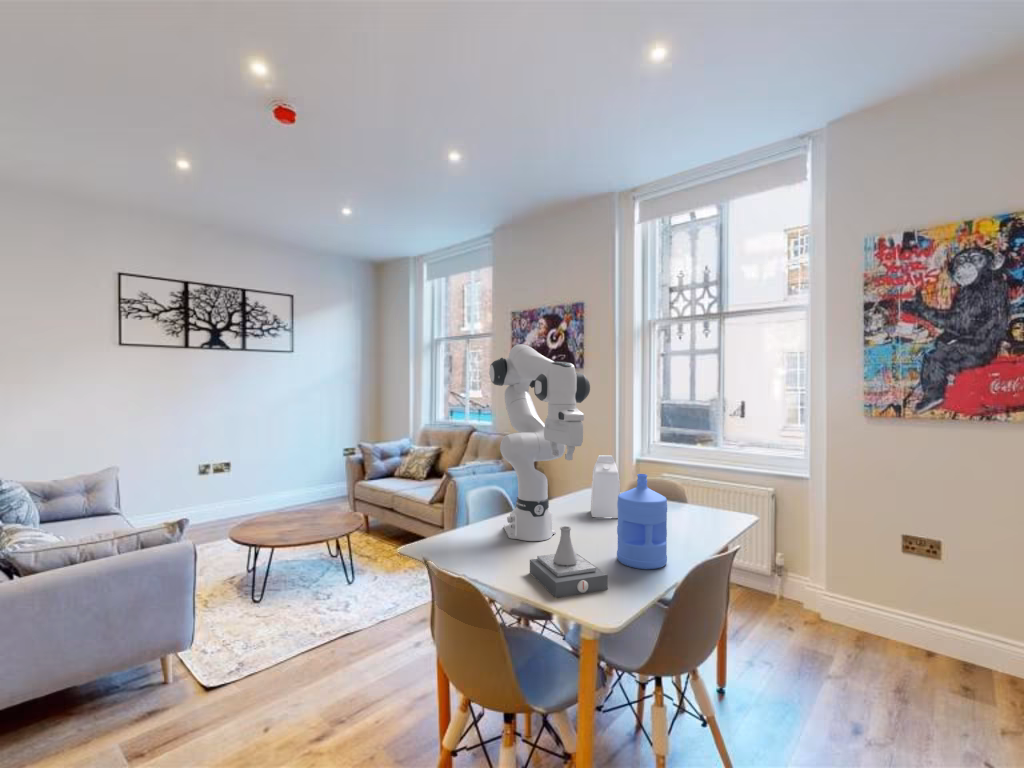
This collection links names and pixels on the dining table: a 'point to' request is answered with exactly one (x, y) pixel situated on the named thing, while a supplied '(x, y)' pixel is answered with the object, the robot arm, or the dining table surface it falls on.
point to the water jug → (642, 527)
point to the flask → (565, 549)
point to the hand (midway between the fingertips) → (561, 457)
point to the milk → (605, 488)
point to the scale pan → (566, 566)
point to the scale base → (569, 580)
